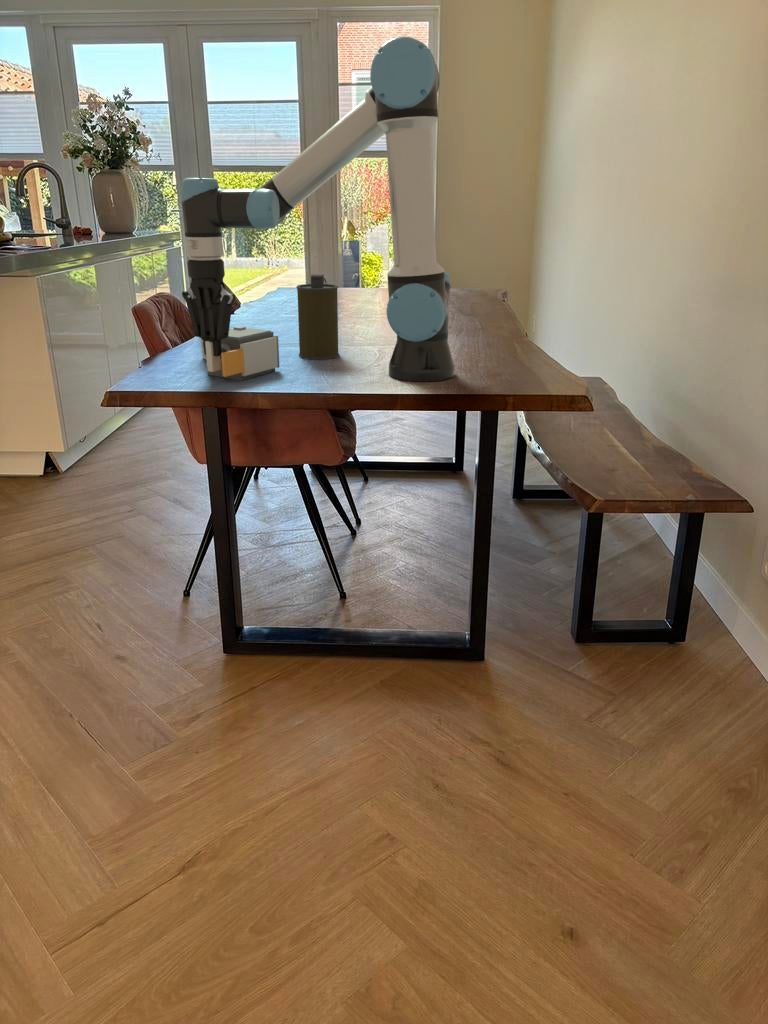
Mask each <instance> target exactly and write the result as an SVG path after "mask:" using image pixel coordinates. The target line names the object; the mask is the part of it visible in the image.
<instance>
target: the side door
mask: <svg viewBox="0 0 768 1024" xmlns="http://www.w3.org/2000/svg"><path fill="white" fill-rule="evenodd" d="M279 347H280V346H279V335H274V337H269V338H265V339H260V340H256V341H251V342H247V343H242V344H240V349H237V350H232V351H228V352H223V353H221V357H222V371H223V376H224V377H223V378H225V377H227V376H230V375H234V374H238V373H242V376H247V375H251V374H255V373H258V372H262V371H266V370H269V369H273V368H275V369H277V368H280V349H279Z"/></svg>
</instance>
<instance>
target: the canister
mask: <svg viewBox="0 0 768 1024" xmlns="http://www.w3.org/2000/svg"><path fill="white" fill-rule="evenodd" d="M338 289H339V286H338V285H337V284H331V283H328V282H327V280H326V278H325V277H324V274H317V273H316V274H311V276H310V283H306V284H299V285H296V290H297V319H298V344H299V353H298V357H300V358H301V359H303V360H304V359H305V360H314V361H315V360H318V361H319V360H321V361H322V360H330V359H331V360H332V359H337V358H338V357H339V356H340V353H339V322H338V321H339V320H338V319H339V318H338V317H339V316H338V315H339V314H338V313H339V311H338V307H339V306H338V304H339V303H338Z"/></svg>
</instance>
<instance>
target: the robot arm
mask: <svg viewBox="0 0 768 1024" xmlns="http://www.w3.org/2000/svg"><path fill="white" fill-rule="evenodd" d="M439 72H440V71H439V69H438V67H437V64H436V60H435V57H434V55H433V54H432V51H431V50H430V48H429V47H428V46H427V44H425V43H424V42H422V41H420V40H418V39H416V38H414V37H410V36H398V37H393V38H391V39H389V40H387V41H386V42H385V43H384V44H382V45H381V46H380V48H378V50H377V51H376V53H375V55H374V57H373V59H372V61H371V66H370V75H369V76H370V77H369V78H370V80H369V81H370V84H371V86H370V87H369V88H368V89H366V91H365V96H364V98H363V100H362V101H361V102H359V104H357V105H356V106H355V107H354V108H352V109H351V110H350V111H349V112H347V113H346V114H345V115H344V116H343V117H342V118H340V119H339V120H338V121H337V122H335V124H334V125H332V126H331V127H330V128H329V129H328V130H327V131H325V132H324V133H323V134H322V135H321V136H319V138H317V139H316V140H315V141H314V142H313V143H311V144H310V145H309V146H308V147H307V148H305V149H304V150H303V151H301V153H299V154H298V155H296V157H294V159H292V160H291V161H290V162H289V163H288V164H287V165H285V167H283V168H282V169H281V170H280V171H279V172H277V173H276V174H275V175H274V176H272V178H270V179H269V180H267V182H266V183H264V184H263V185H262V186H261V187H260V188H258V187H257V188H220V186H219V181H218V179H216V178H215V177H213V178H212V177H211V178H210V177H209V178H208V177H201V178H200V177H187V178H184V179H183V180H182V181H181V184H180V189H181V190H180V192H181V195H180V196H181V201H180V203H181V208H182V217H183V218H182V219H183V228H184V239H185V241H184V242H185V249H186V257H189V259H188V260H187V261H186V263H187V275H188V277H189V278H190V279H191V280H190V285H189V288H187V290H185V291H182V293H181V296H182V299H184V302H185V303H186V307H187V310H188V314H189V318H190V321H191V326H192V329H193V334H194V336H195V337H197V338H199V339H200V340H201V339H202V340H203V346H204V354H205V355H206V357H207V360H206V369H208V371H210V372H214V371H218V370H221V363H220V356H221V353H222V351H221V350H222V349H221V340H222V339H224V338H228V335H229V329H230V325H231V317H232V316H231V315H232V308H233V304H234V301H235V300H236V295H235V294H234V293H230V292H228V290H226V285H225V283H224V277H225V276H226V274H225V273H226V271H225V262H224V260H223V259H222V257H223V256H224V246H223V245H224V244H223V233H222V230H223V229H248V230H249V229H252V230H253V229H255V230H266V229H267V230H268V229H275V228H276V227H277V226H278V224H280V223H282V222H283V221H285V219H286V217H287V215H288V214H289V213H290V212H291V211H293V210H294V209H295V208H296V207H297V206H298V205H300V204H301V203H302V202H303V201H304V200H306V199H307V198H308V197H309V196H310V195H312V194H313V193H314V192H315V191H317V190H318V189H319V188H320V187H321V186H323V185H324V184H325V183H326V182H328V181H329V180H330V179H331V178H333V177H334V176H335V175H336V174H337V173H339V172H340V171H341V170H342V169H343V168H345V167H346V166H348V165H349V164H350V163H351V162H352V161H353V160H355V159H356V158H357V157H358V156H359V155H361V154H362V153H363V152H365V151H366V149H368V148H369V147H371V145H373V144H375V143H376V141H377V140H379V139H380V138H381V137H383V136H384V135H385V142H386V144H385V145H386V155H387V157H386V158H387V174H388V175H387V176H388V190H389V191H388V192H389V203H390V208H389V209H390V220H391V221H390V222H391V234H392V235H391V236H392V238H391V239H392V252H393V266H392V267H391V269H390V270H389V271H388V272H387V274H386V276H387V292H388V302H387V304H386V312H385V313H386V318H387V321H388V325H389V326H390V328H391V330H392V331H393V332H394V333H395V334H396V342H395V345H394V348H393V351H392V354H391V357H390V361H389V364H388V375H389V376H390V378H391V377H392V378H394V379H397V380H402V381H409V382H410V381H411V382H412V381H413V382H436V381H437V382H439V381H444V380H448V379H451V378H453V377H454V376H455V364H454V359H453V356H452V353H451V349H450V345H449V323H450V322H449V321H450V319H449V317H450V296H451V294H450V293H451V292H450V291H451V287H452V283H451V276H450V273H448V272H447V271H445V268H443V267H442V266H441V265H440V264H439V263H438V262H437V245H436V227H435V226H436V222H435V201H434V200H435V199H434V198H435V197H434V180H433V179H434V178H433V155H432V154H433V153H432V132H431V131H432V128H433V127H434V126H435V124H436V123H437V122H438V120H439V109H438V105H439V104H438V94H439V93H438V92H439V89H440V73H439ZM208 371H207V372H208Z"/></svg>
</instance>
